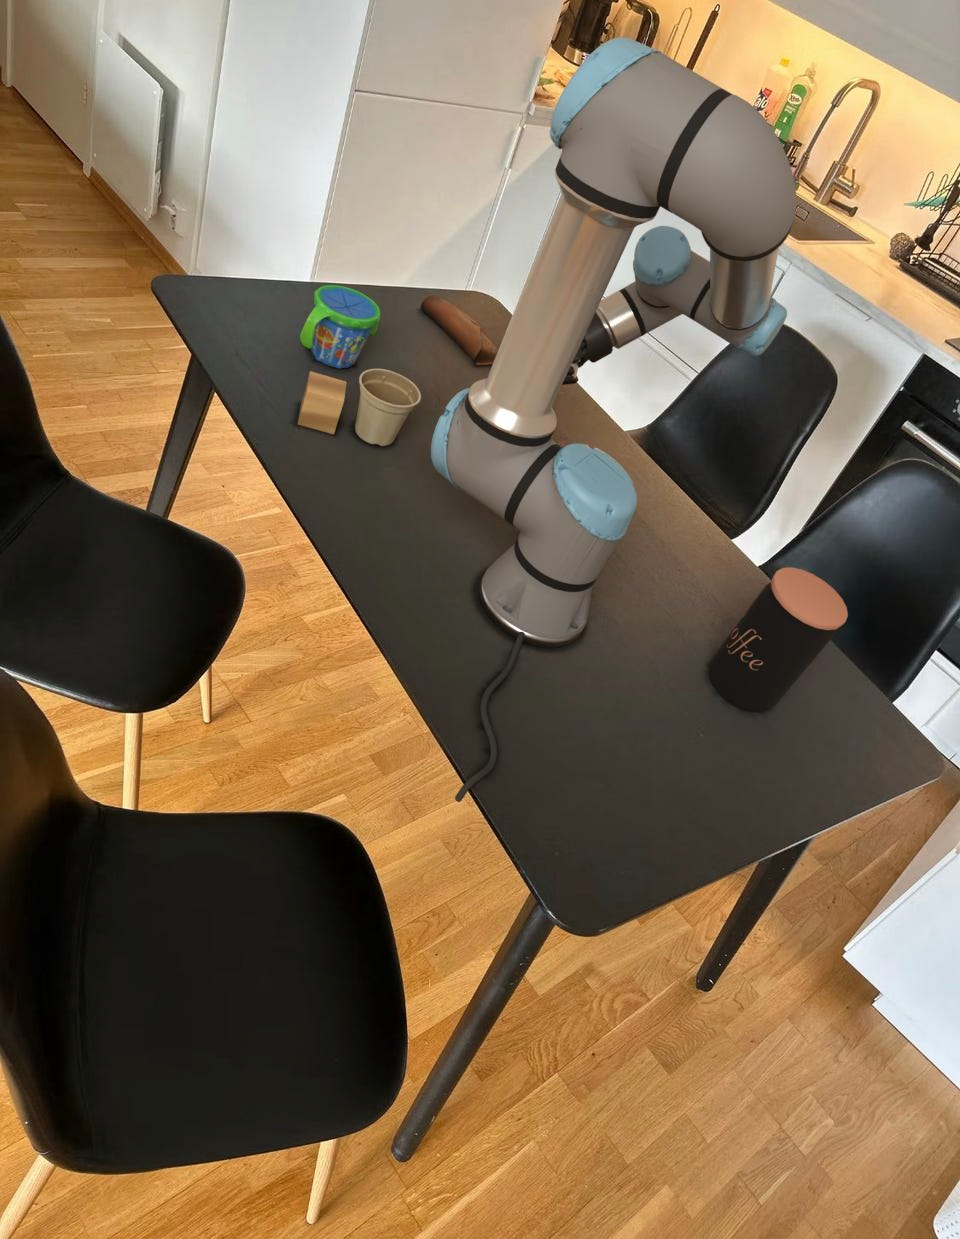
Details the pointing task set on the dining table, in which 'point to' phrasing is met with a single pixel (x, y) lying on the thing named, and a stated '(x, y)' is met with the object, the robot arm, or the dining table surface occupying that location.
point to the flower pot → (384, 405)
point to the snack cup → (339, 325)
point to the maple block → (322, 403)
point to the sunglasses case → (461, 329)
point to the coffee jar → (776, 640)
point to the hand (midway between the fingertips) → (465, 405)
